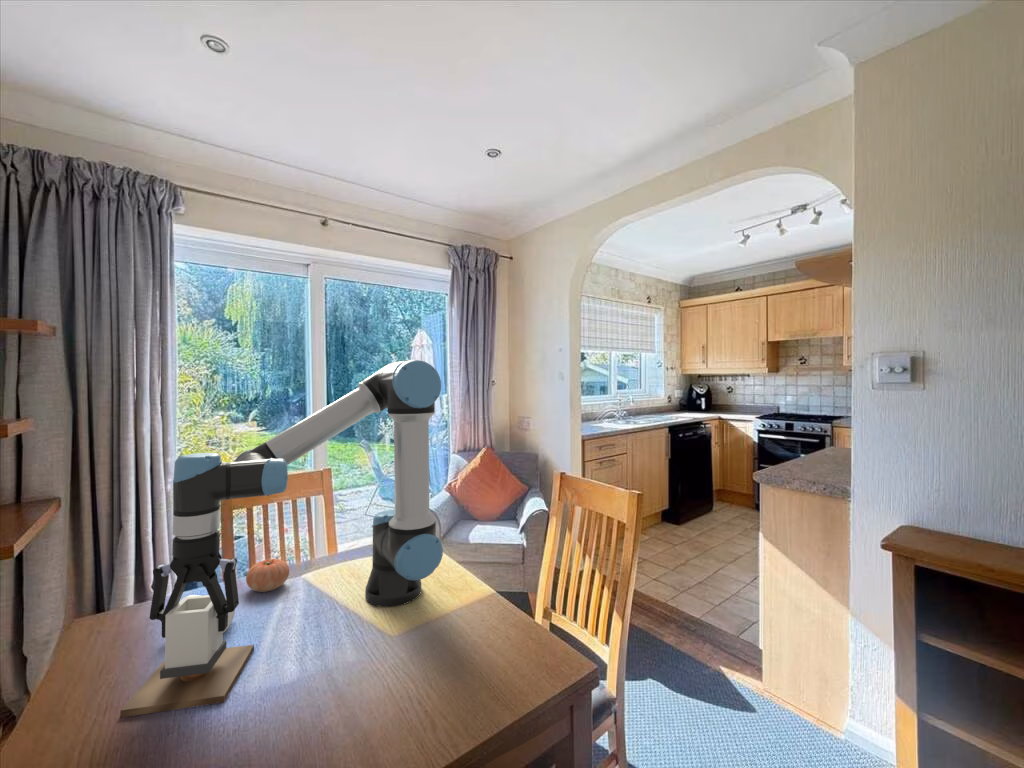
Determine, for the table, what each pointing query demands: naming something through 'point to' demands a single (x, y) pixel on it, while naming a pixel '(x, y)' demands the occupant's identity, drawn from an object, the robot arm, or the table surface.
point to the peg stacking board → (189, 686)
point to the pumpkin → (267, 575)
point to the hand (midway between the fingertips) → (195, 649)
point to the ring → (193, 666)
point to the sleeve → (189, 632)
